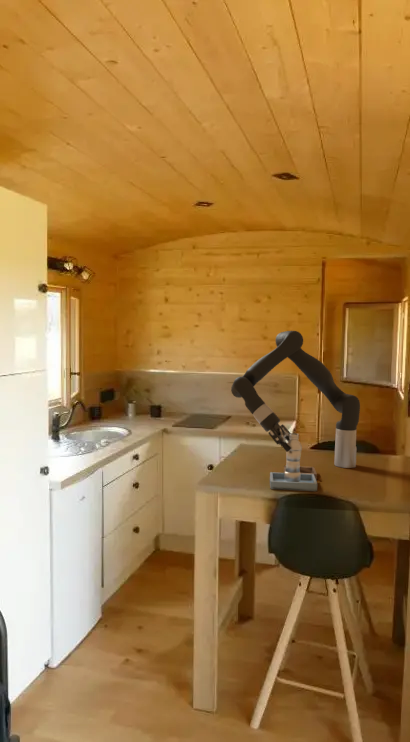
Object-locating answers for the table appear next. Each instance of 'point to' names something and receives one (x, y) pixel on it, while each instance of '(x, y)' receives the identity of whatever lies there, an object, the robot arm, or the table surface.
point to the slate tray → (304, 484)
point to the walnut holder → (306, 470)
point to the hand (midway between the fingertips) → (292, 448)
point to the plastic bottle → (293, 459)
